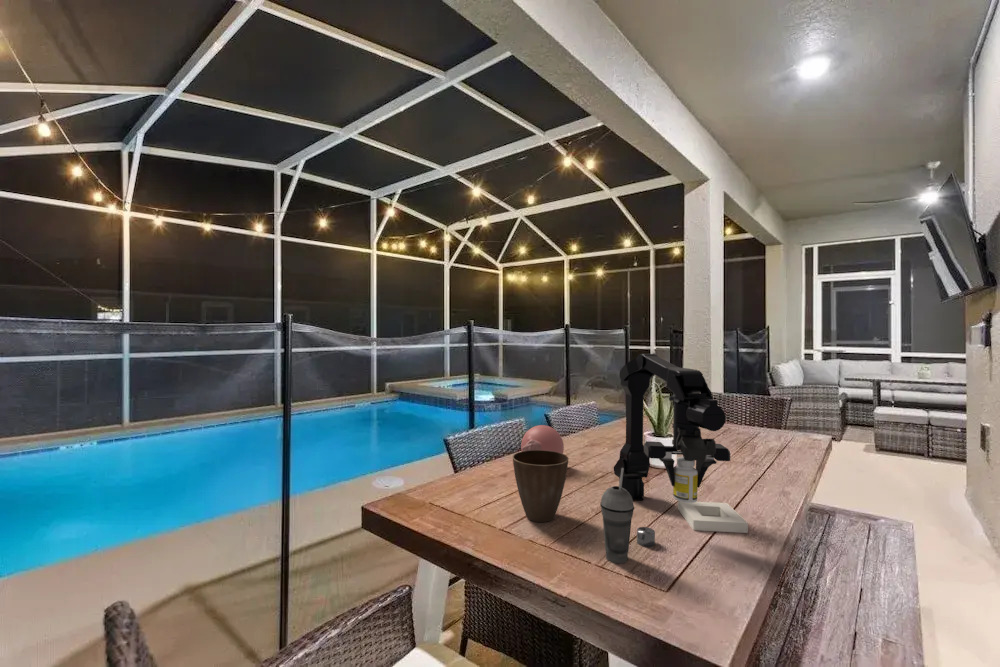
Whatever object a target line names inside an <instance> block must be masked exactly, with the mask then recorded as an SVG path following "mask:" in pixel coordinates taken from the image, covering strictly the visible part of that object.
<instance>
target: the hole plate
mask: <svg viewBox="0 0 1000 667" xmlns="http://www.w3.org/2000/svg"><path fill="white" fill-rule="evenodd" d="M677 506H678V507H677V509H678V512H679V513H680V515H682V517H683V518H684V519H685V521H686V522H687V524H688V526H690V528H691V529H692V531H705V532H721V533H722V532H724V533H727V532H728V533H739V534H740V533H741V534H742V533H743V534H748V533H749V532H748V531H749V523H748V522H747V521H746V520H745V518H744V517H742V516H741V515H740V514H739V513H738V512H737V511H736V510H735V509H734V508H733V507H732V506H731V505H729V504H728V503H727V502H714V501H712V502H711V501H696V502H693V503H685V502H680V501H678V500H677Z"/></svg>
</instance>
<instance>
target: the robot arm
mask: <svg viewBox="0 0 1000 667" xmlns="http://www.w3.org/2000/svg"><path fill="white" fill-rule="evenodd" d="M703 374H704V373H703V372H701V371H700V370H698V369H693V368H686V367H679V366H677V365H676V364H673V363H671V362H669V361H667V360H665V359H663V358H661V357H659V356H658V355H657V354H655V353H641V354H638V355H637V356H636V358H634V359H632V360H630V361H628V362H626V363H625V364H624V365H623V367H622V368H620V370H619V379H620V386H621V388H622V390H623V391H624V392H625V395H626V396H625V398H626V401H625V443H624V444H623V445H622V447H621V449H620V451H619V458H618V460H617V461H616V463H615V464H614V466H613V473H614V476H616V477H618V481H619V482H618V486H619V485H620V477H621V469H622V468H624V471H623V479H622V488H624V489H626V490H627V491H628V492H629V494H630V495H631V497H632V499H633V501H644V496H645V483H644V481H643V478H648V475H649V472H650V471H649V470H650V466H651V462H650V461H651V460H650V459H658V460H659V461H660V462H661V463H663V466H664V468H665V470H666V473H667V476H668V479H669V481H670V482H669V483H670V484H671V486H672V487H673V486H674V485H675V477H674V468H675V467H674V464H675V460H674V458H673V457H672V456H673V455H680V456H682V457H684V459H685V460H687V461H692V460H695V469H696V470H697V472H698V482H697V489H698V488H700V486H701V484H702V482H703V479H704V477H705V475H706V472H707V470H708V469H709V468H710V467H711V466H712V465H716V464H717V463H718V462H730V461H731V451H730V450H729V449H728V448H727V447H725V445H722V444H721V443H716V441H715V439H714V438H702V433H701V432H702V431H701V428H702V429H704V430H707V431H710V432H718V431H719V430H721V429H722V428H723V427H724V425H725V423H726V418H727V416H726V414H725V411H724V409H723V408H722V407H721V406H719V405H718V402H719V401H718V399H715V398H714V397H713V395H712V391H711V389H710V388H709V386H708V383H707V381H706V378H705V377H704V375H703ZM654 376H656V377H658V378H659V379H661V380H663V381H665V383H666V387H667V388H668V390H670V391H671V392H672V394H671V395H670V397H668V398H669V401H671V402H673V422H672V423H671V424H672V426H671V427H672V429H673V430H672V431H673V432H672V433H673V434H672V435H673V436H672V438H673V439H672V440H671V444H672V446H671V445H664V444H663V443H662V442H661V441H650V440H649V441H645V442H644V399H645V398H644V397H645V394H646V393H647V391H648V389H649V388H650V384H651V379H652V378H653V377H654Z"/></svg>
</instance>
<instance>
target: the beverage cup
mask: <svg viewBox="0 0 1000 667" xmlns="http://www.w3.org/2000/svg"><path fill="white" fill-rule="evenodd" d="M623 471H624V468H622V469H621V477H620V485H619V484H618V486H617V485H613V486H610V487H609V488H607V489H606V490H605V491H604V492H603V494H602V496H601V498H600V507H601V508H600V509H601V510H600V511H601V515H602V524H603V537H604V539H603V540H604V550H605V558H606V560H607V561H609V562H611V563H612V564H613V563H614V564H624V563H626V562H627V561H628V555H629V550H630V549H629V548H630V538H631V530H632V529H631V527H632V519H633V515H634V510H635V505H634V500H633V499H632V497H631V495H630V494H629V492H628V491H627V490H626V489H624V488H622V479H623Z"/></svg>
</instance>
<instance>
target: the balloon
mask: <svg viewBox="0 0 1000 667" xmlns="http://www.w3.org/2000/svg"><path fill="white" fill-rule="evenodd" d="M520 447H521V451H520V452H522V451H529V450H546V451H554V452H559V453H562V454H564V450H565V446H564V441H563V438H562V436H561V435H560V432H558V431H557V430H556V429H554V428H553V427H552V426H549V425H546V424H545V425H544V424H540V425H539V424H538V425H535V426H533V427H531V428H530V429H528V430H527V431H526V432H525V433H524V435H523V437H522V439H521V444H520Z"/></svg>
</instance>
